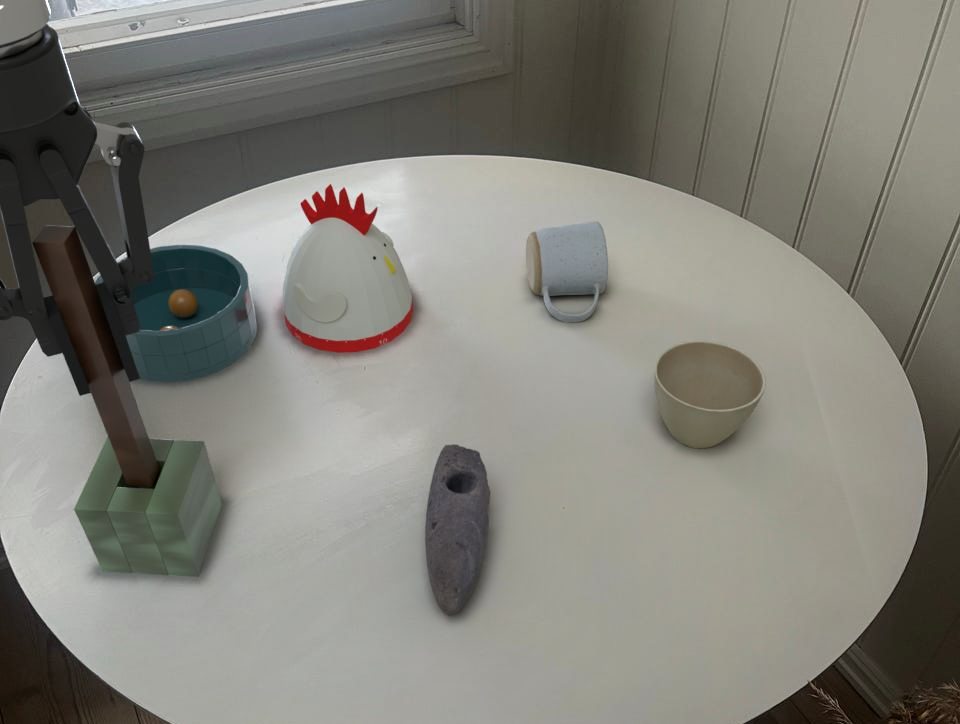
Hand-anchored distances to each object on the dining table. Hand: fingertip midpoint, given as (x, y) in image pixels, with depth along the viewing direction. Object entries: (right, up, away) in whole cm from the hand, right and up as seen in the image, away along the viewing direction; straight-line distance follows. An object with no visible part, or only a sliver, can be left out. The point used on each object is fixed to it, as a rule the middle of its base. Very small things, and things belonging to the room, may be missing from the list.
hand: (105, 375), depth 66 cm
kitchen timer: (+12, +11, +35) cm, 39 cm away
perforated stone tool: (+25, -14, +12) cm, 31 cm away
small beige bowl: (+47, -3, +24) cm, 53 cm away
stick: (0, -7, +8) cm, 11 cm away
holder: (0, -12, +13) cm, 18 cm away
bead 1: (-5, +7, +27) cm, 29 cm away
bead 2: (-5, +11, +32) cm, 34 cm away
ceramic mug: (+36, +13, +38) cm, 54 cm away
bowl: (-5, +8, +32) cm, 34 cm away
